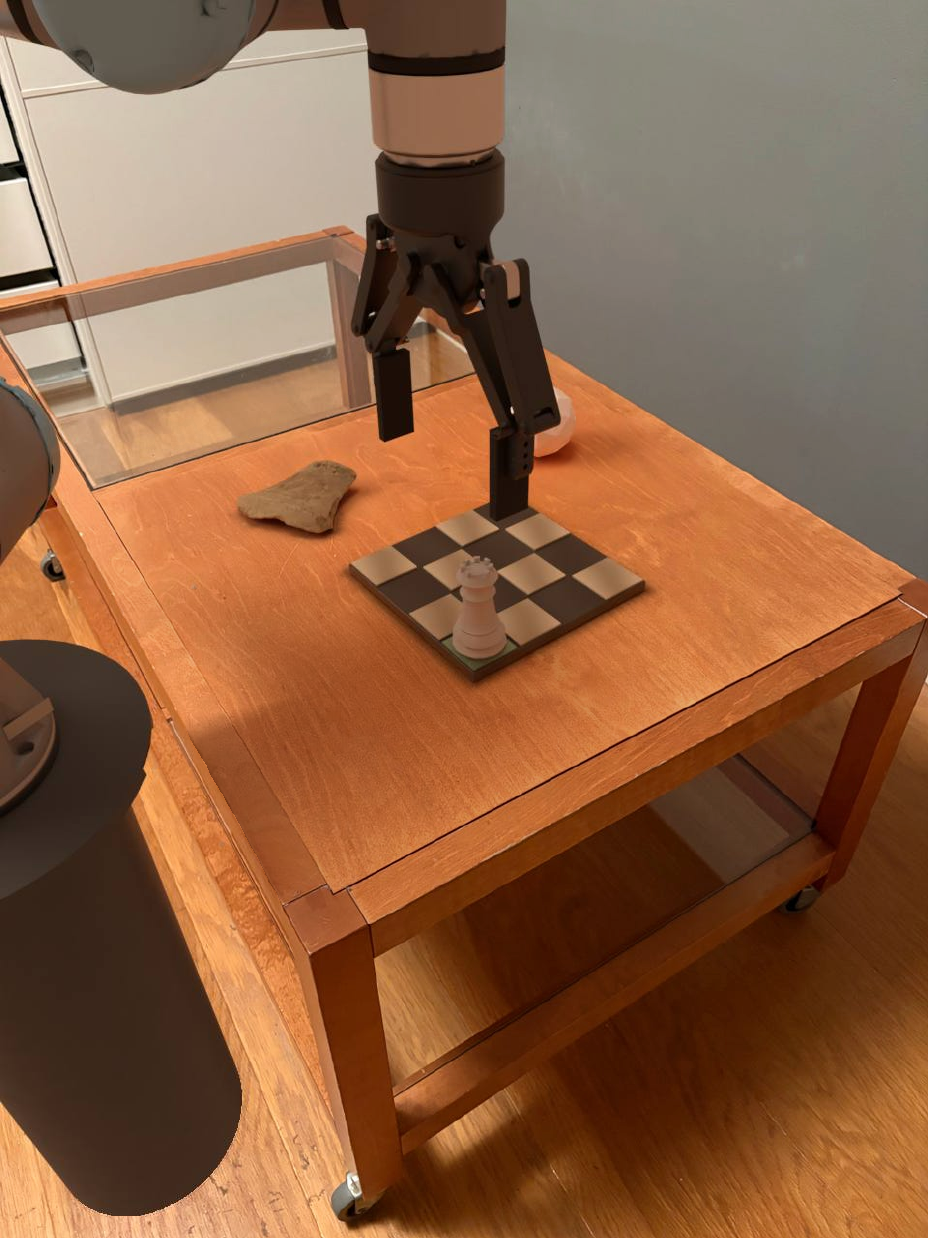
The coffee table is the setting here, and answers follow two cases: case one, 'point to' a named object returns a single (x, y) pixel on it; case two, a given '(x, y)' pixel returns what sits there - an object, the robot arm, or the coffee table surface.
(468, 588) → the rook chess piece
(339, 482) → the pottery shard
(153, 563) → the coffee table surface
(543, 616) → the game board
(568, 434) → the geometric ball
